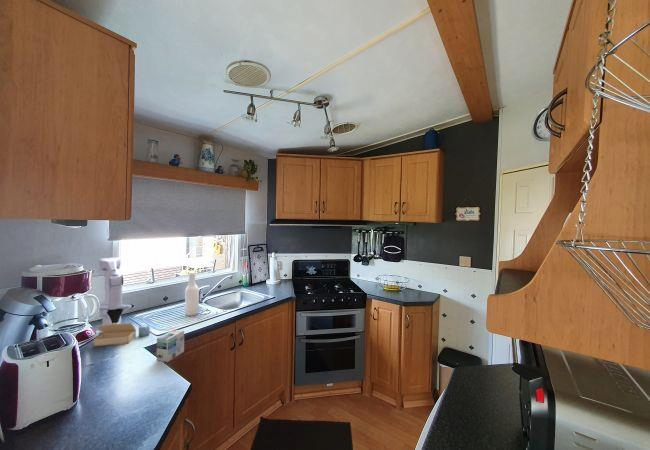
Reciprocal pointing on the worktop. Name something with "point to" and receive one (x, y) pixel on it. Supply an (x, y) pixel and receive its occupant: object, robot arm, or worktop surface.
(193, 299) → the alcohol
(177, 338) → the light bulb box
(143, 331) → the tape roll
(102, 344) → the box
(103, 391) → the worktop surface
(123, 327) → the lid
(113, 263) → the robot arm
